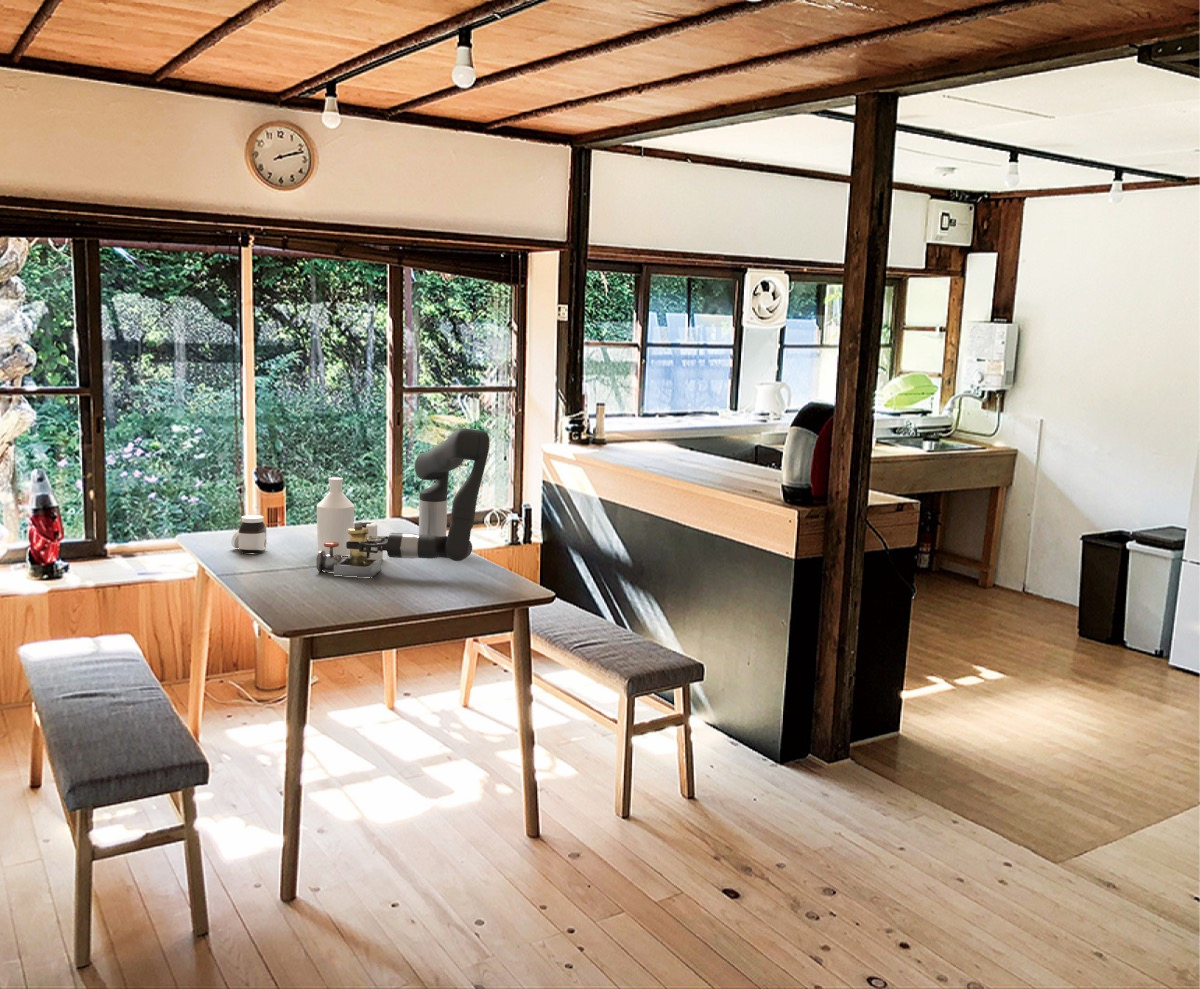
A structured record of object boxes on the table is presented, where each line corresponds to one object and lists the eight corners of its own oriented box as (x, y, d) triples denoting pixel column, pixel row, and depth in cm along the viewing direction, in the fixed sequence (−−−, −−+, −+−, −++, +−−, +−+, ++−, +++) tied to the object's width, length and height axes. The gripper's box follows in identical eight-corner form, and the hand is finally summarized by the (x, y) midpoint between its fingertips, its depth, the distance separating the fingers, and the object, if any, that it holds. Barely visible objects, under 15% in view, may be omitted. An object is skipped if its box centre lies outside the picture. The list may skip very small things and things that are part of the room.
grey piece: (325, 567, 328) (325, 538, 327) (381, 570, 328) (381, 542, 326) (313, 575, 317) (313, 546, 316) (371, 578, 316) (371, 549, 315)
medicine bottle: (351, 560, 339) (351, 523, 337) (365, 556, 346) (365, 520, 344) (369, 563, 336) (369, 526, 334) (383, 559, 343) (383, 522, 341)
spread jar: (259, 555, 340) (259, 520, 338) (224, 554, 340) (223, 518, 338) (271, 548, 352) (271, 513, 350) (237, 546, 352) (237, 512, 350)
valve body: (349, 567, 325) (349, 520, 322) (369, 568, 325) (369, 520, 323) (346, 572, 319) (346, 524, 316) (367, 572, 319) (367, 524, 317)
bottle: (358, 551, 353) (359, 477, 349) (346, 558, 341) (347, 482, 337) (324, 549, 354) (324, 475, 350) (311, 556, 342) (311, 479, 338)
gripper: (410, 529, 327) (356, 526, 327) (399, 538, 312) (342, 535, 313) (410, 553, 328) (356, 550, 329) (399, 563, 314) (342, 560, 314)
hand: (349, 543), depth 321 cm, fingers open, 5 cm apart
